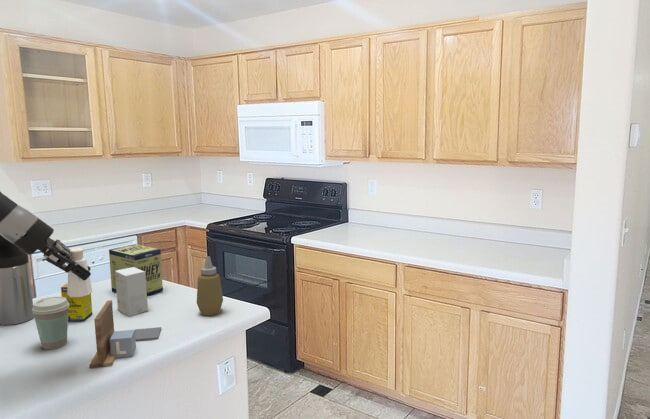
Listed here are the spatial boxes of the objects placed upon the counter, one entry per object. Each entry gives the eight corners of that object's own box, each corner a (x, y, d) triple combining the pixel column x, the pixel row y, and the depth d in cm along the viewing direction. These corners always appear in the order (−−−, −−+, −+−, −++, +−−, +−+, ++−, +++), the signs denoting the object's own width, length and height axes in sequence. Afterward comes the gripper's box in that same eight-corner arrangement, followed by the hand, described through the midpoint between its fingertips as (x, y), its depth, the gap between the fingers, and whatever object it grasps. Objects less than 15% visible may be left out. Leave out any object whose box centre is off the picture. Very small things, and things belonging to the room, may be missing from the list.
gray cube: (111, 358, 116) (109, 339, 116) (115, 349, 121) (114, 331, 121) (132, 356, 117) (131, 337, 117) (136, 347, 122) (134, 329, 122)
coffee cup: (48, 337, 129) (44, 295, 127) (79, 337, 129) (75, 295, 127) (28, 351, 120) (23, 307, 118) (60, 352, 120) (56, 307, 118)
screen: (89, 367, 112) (85, 320, 110) (102, 344, 124) (99, 301, 122) (112, 365, 113) (108, 318, 111) (122, 342, 125) (119, 299, 124)
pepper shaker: (61, 295, 112) (58, 250, 110) (81, 288, 117) (78, 245, 115) (78, 298, 110) (74, 253, 108) (97, 291, 115) (94, 247, 113)
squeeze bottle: (204, 319, 141) (202, 261, 138) (192, 312, 147) (189, 256, 144) (228, 312, 146) (226, 256, 143) (215, 305, 152) (213, 252, 149)
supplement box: (63, 322, 139) (60, 286, 137) (73, 314, 145) (70, 280, 143) (83, 322, 139) (80, 286, 138) (93, 314, 145) (90, 280, 143)
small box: (148, 311, 148) (145, 271, 146) (128, 316, 143) (125, 275, 141) (136, 304, 153) (134, 266, 151) (117, 310, 149) (114, 270, 147)
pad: (130, 341, 126) (130, 339, 126) (135, 331, 133) (135, 329, 133) (158, 339, 127) (158, 337, 127) (161, 329, 134) (161, 327, 134)
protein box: (138, 300, 158) (135, 255, 155) (110, 291, 166) (107, 249, 164) (164, 291, 166) (161, 249, 164) (136, 284, 175) (134, 243, 172)
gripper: (15, 235, 111) (77, 278, 119) (6, 249, 99) (76, 295, 106) (39, 212, 113) (98, 255, 120) (33, 222, 100) (100, 270, 108)
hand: (87, 274), depth 113 cm, fingers closed on pepper shaker, 4 cm apart
